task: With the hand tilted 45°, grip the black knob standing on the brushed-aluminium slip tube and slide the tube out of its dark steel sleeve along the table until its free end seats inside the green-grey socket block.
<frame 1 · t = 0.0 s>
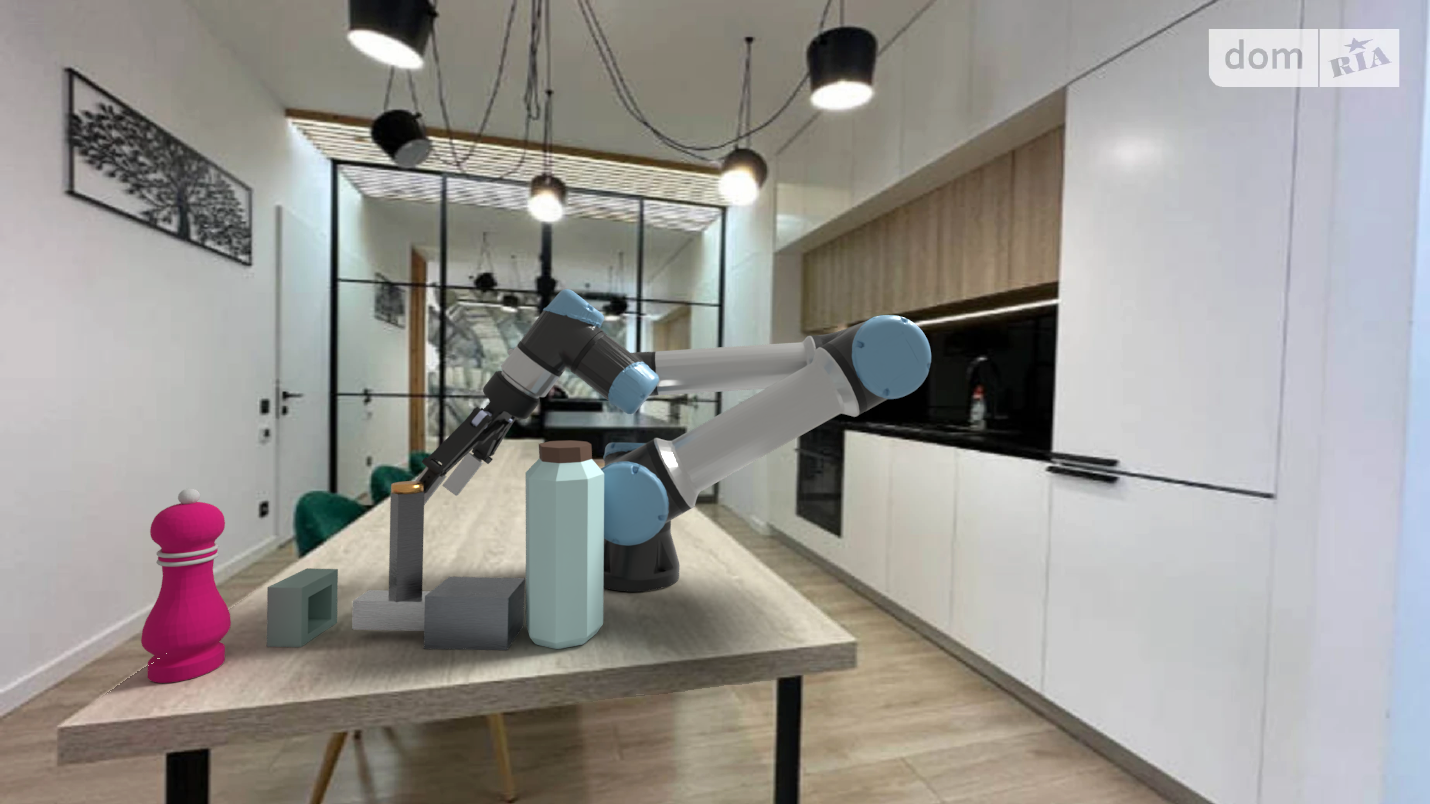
hand: (430, 499, 83), 15 cm above the table, tool tilted 35°, fingers open, 13 cm apart
pepper mill: (187, 670, 63), on the table
socket block: (303, 633, 72), on the table
water bottle: (564, 634, 74), on the table
sleeve: (476, 636, 73), on the table
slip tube: (434, 554, 72), point 11 cm above the table, slide at 0.0 cm
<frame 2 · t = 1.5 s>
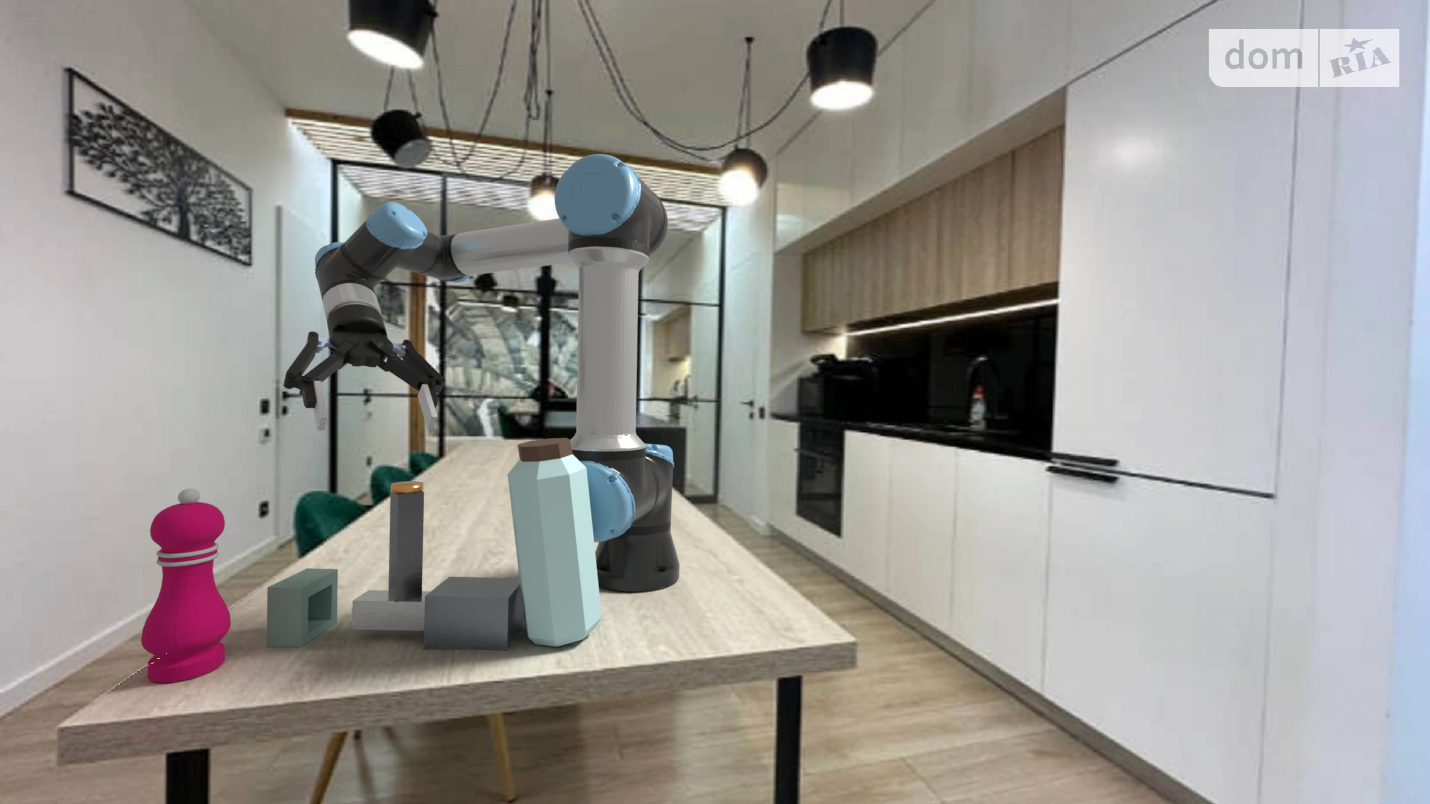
hand: (381, 423, 79), 26 cm above the table, tool tilted 45°, fingers open, 13 cm apart
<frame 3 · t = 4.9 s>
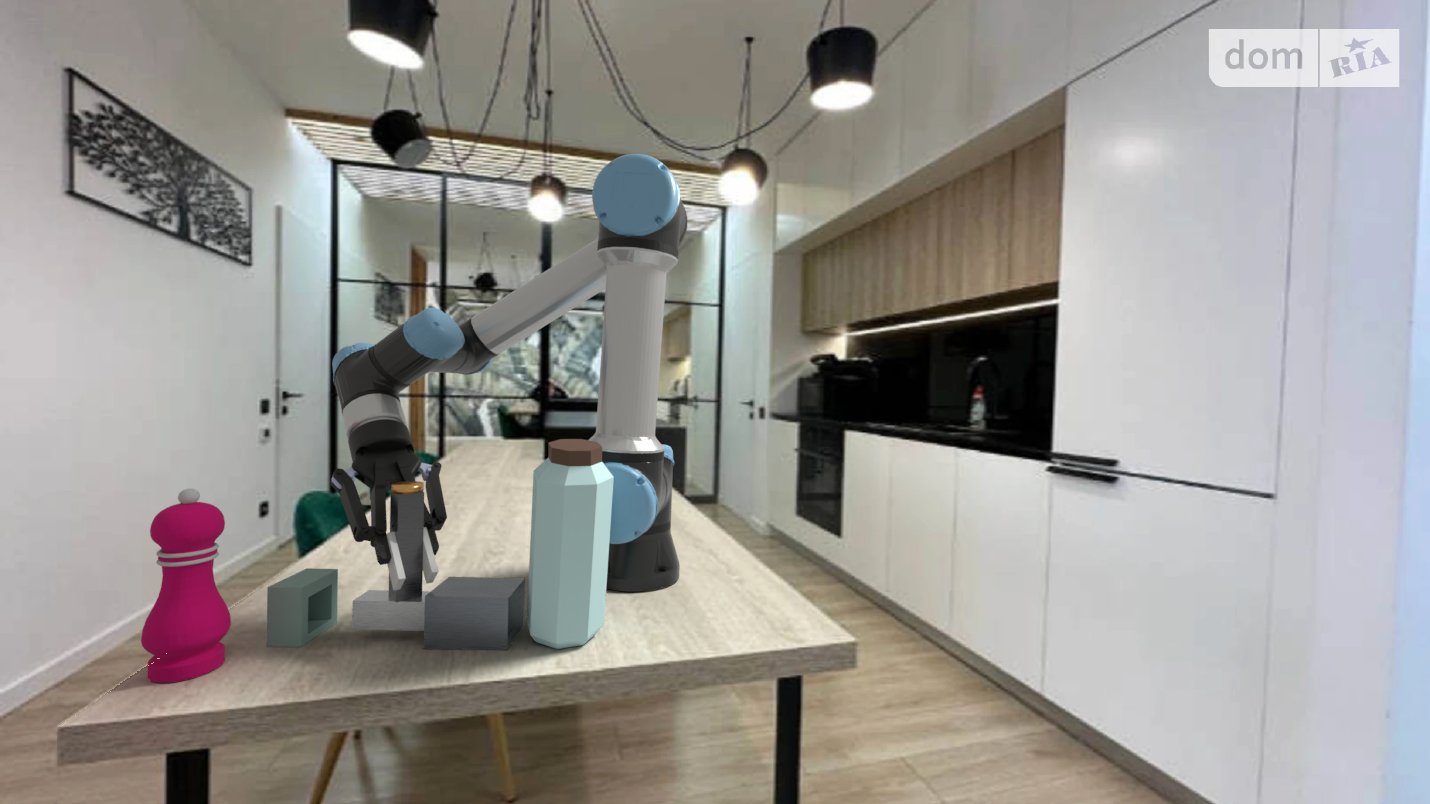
hand: (416, 580, 70), 8 cm above the table, tool tilted 45°, fingers closed on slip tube, 3 cm apart
water bottle: (564, 632, 74), on the table, touching arm
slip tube: (434, 554, 72), point 11 cm above the table, slide at 0.0 cm, touching gripper
everything else where it was.
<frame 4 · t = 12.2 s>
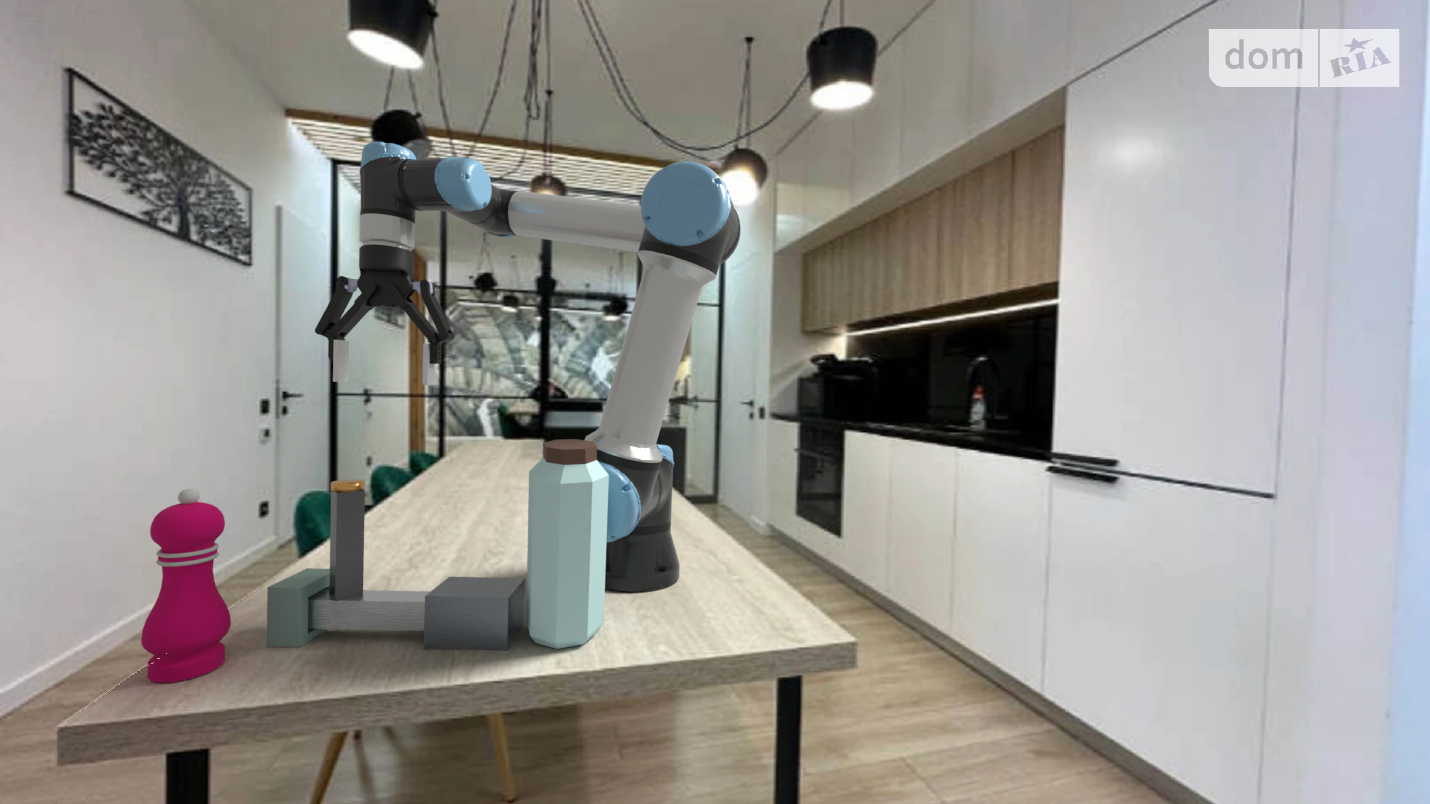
hand: (384, 383, 90), 32 cm above the table, tool pointing down, fingers open, 13 cm apart
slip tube: (375, 553, 72), point 11 cm above the table, slide at 7.3 cm
at the end: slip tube slide at 7.3 cm; the gripper is holding nothing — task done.
